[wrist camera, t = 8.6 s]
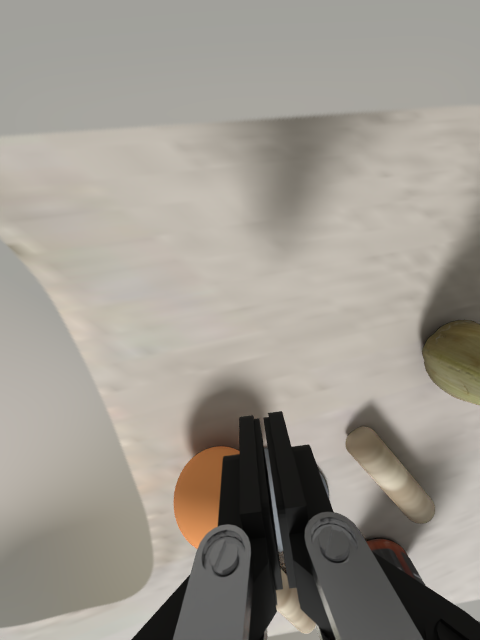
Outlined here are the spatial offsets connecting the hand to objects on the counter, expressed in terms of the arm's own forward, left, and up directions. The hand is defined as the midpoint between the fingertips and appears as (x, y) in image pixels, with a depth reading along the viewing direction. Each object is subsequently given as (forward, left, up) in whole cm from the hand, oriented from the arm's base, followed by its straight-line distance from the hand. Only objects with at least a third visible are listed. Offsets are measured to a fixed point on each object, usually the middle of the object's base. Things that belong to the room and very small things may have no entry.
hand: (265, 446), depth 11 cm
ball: (+4, +8, -6) cm, 11 cm away
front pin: (-7, +8, -8) cm, 13 cm away
